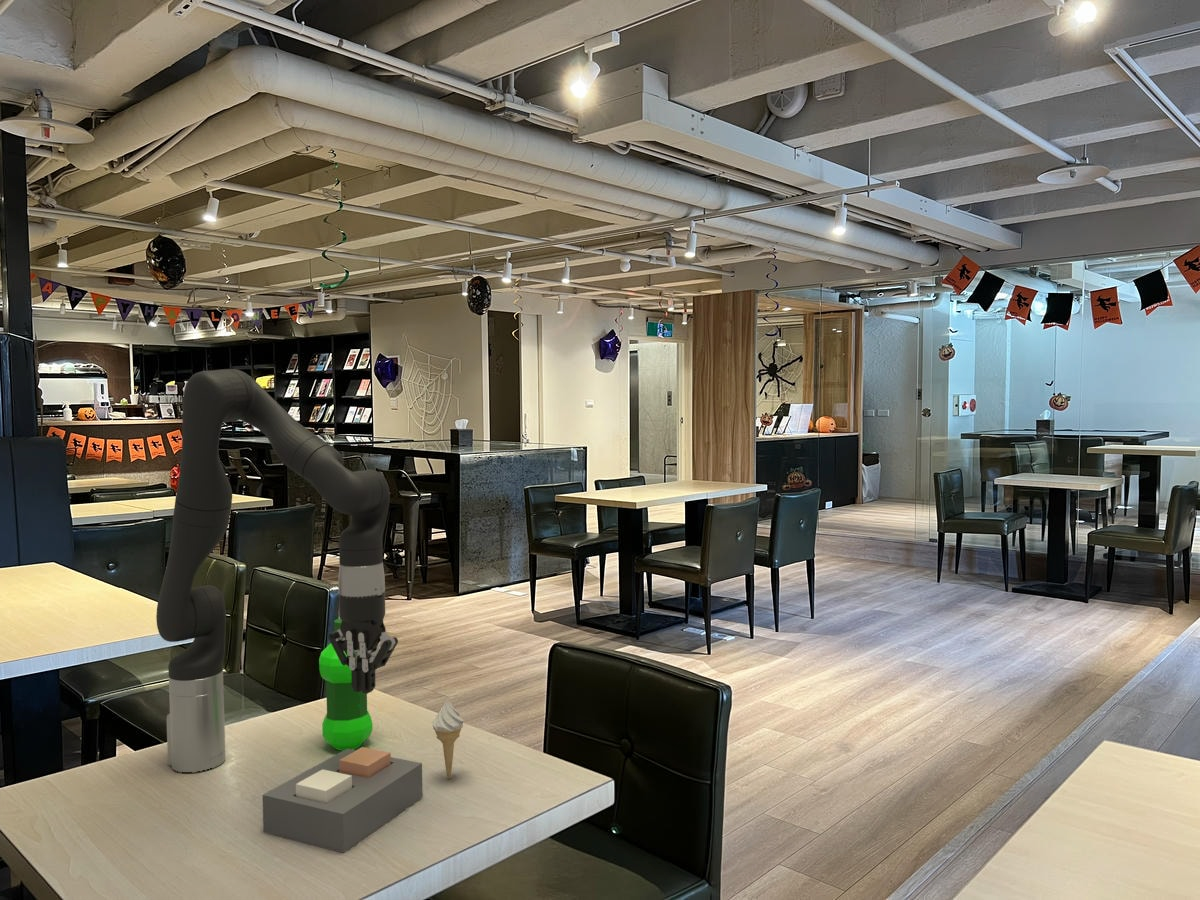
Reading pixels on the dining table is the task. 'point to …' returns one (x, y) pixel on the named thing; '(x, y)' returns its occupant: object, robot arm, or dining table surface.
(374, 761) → the terracotta key
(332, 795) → the white key
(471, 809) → the dining table surface
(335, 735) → the plastic bottle
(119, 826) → the dining table surface
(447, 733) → the ice cream cone
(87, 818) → the dining table surface
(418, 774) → the block
